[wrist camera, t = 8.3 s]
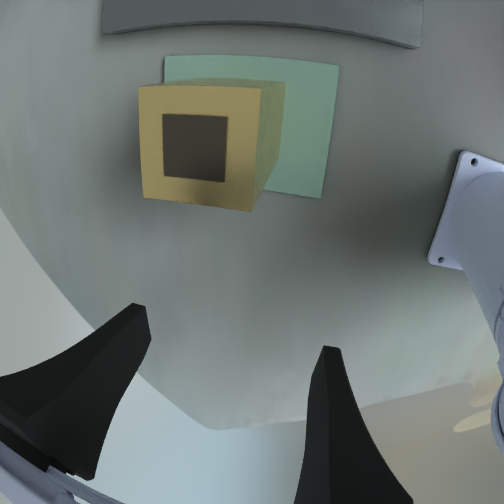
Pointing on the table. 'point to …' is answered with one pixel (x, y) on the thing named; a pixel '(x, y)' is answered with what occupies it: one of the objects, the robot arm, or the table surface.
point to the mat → (294, 114)
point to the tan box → (210, 140)
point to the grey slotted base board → (275, 16)
